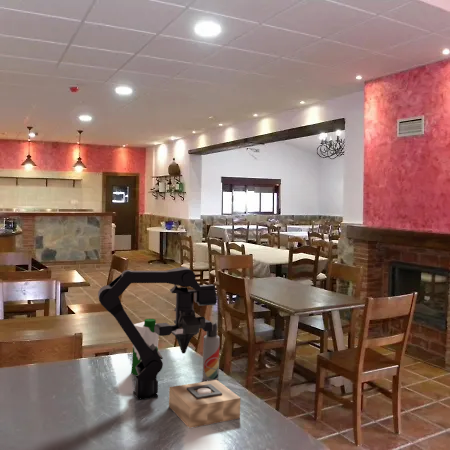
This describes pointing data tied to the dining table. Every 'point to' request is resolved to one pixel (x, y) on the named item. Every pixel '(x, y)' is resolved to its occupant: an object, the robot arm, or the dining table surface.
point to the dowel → (203, 391)
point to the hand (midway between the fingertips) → (183, 353)
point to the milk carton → (150, 338)
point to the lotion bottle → (211, 355)
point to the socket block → (204, 403)
